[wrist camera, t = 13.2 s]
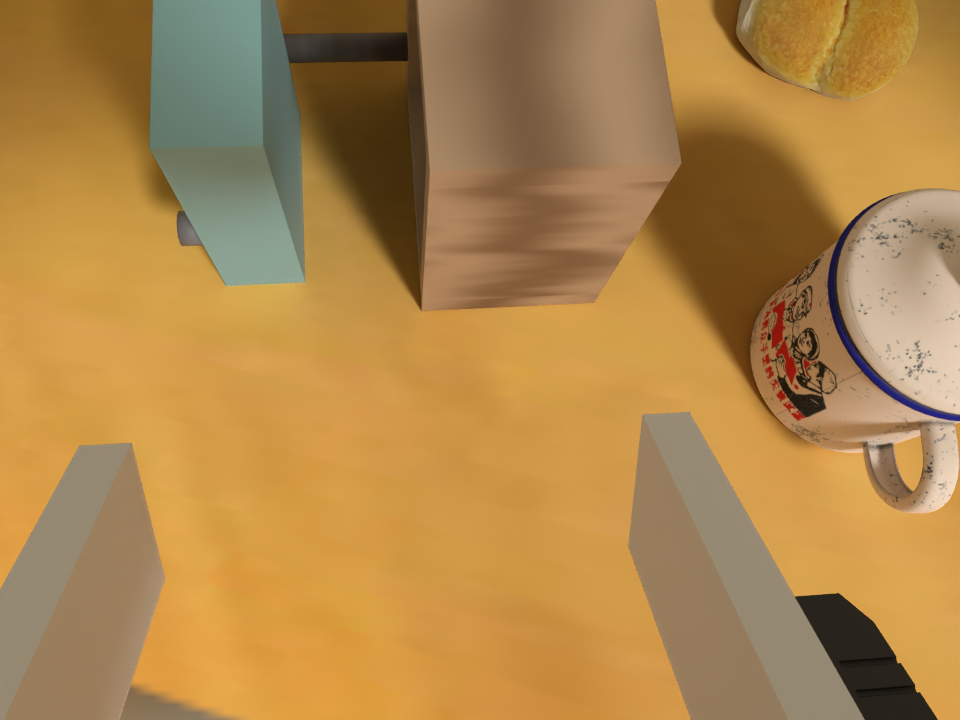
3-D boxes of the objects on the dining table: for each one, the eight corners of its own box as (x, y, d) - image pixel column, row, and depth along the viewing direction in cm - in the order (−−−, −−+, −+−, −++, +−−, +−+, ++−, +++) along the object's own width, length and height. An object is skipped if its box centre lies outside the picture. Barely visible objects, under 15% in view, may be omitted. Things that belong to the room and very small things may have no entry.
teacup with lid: (736, 267, 41) (861, 139, 29) (918, 277, 41) (1108, 156, 30) (751, 521, 37) (901, 486, 26) (950, 528, 38) (1177, 496, 27)
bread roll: (886, 124, 44) (932, 78, 40) (720, 72, 44) (750, 22, 40) (908, -3, 46) (954, -57, 42) (751, -51, 46) (782, -111, 42)
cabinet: (566, 77, 43) (632, -140, 30) (593, 302, 39) (681, 162, 27) (272, 83, 41) (214, -143, 29) (276, 317, 38) (213, 177, 25)
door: (300, 115, 41) (259, -77, 29) (305, 282, 38) (262, 145, 27) (204, 117, 40) (124, -76, 29) (203, 287, 38) (116, 149, 27)
